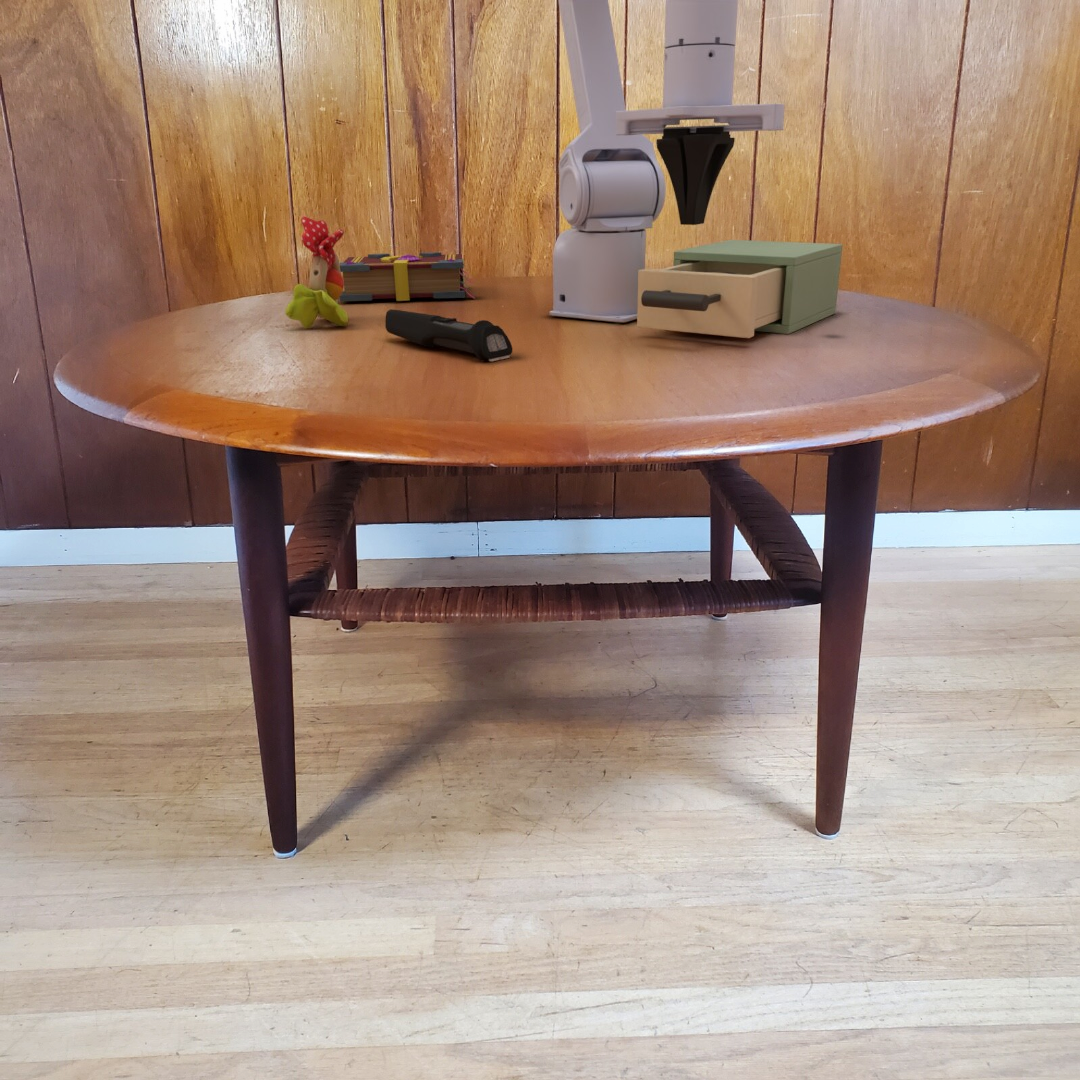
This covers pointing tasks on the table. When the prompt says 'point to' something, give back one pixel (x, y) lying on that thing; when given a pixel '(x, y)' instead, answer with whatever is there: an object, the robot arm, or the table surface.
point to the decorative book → (403, 277)
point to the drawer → (711, 297)
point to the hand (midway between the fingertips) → (692, 224)
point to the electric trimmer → (450, 334)
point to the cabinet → (806, 275)
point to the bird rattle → (319, 278)
